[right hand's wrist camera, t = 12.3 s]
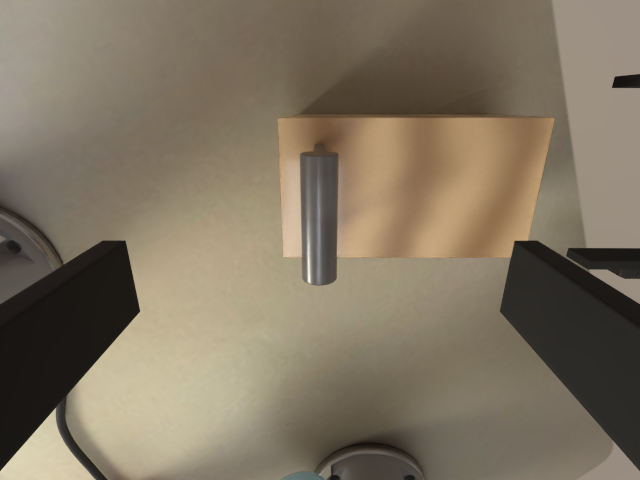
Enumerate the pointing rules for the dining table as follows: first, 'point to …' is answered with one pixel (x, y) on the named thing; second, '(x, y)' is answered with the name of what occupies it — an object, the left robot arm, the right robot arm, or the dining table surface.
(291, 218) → the lid
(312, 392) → the dining table surface
